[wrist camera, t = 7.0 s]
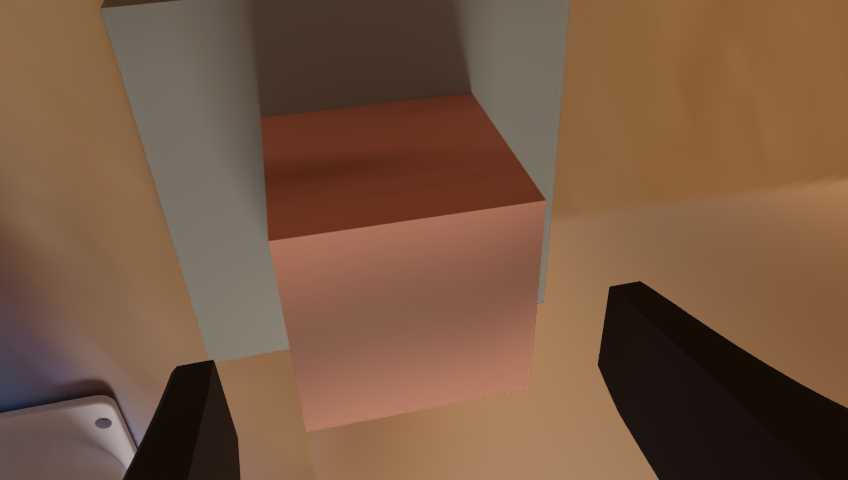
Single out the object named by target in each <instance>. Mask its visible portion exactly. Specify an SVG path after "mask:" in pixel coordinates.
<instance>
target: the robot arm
mask: <svg viewBox="0 0 848 480" xmlns="http://www.w3.org/2000/svg"><path fill="white" fill-rule="evenodd" d="M598 367H599V369H600V371H601V374H602V376H603V378H604V381H605V383H606V385H607V388H608V390H609V392H610V395H611V397H612V399H613V401H614V403H615V406H616V408H617V410H618V412H619V414H620V416H621V417H622V419H623V421H624V423H625V424H626V426H627V428H628V429H629V431H630V433H631V434H632V436H633V438H634V439H635V441H636V443H637V444H638V446H639V448H640V449H641V451H642V452H643V454H644V456H645V457H646V459H647V461H648V462H649V464H650V466H651V467H652V469H653V471H654V472H655V474H656V475H657V477H658V479H659V480H848V408H846V407H844V406H842V405H840V404H838V403H836V402H834V401H832V400H830V399H828V398H826V397H824V396H822V395H820V394H818V393H816V392H815V391H813V390H811V389H809V388H807V387H805V386H804V385H802V384H800V383H798V382H796V381H795V380H793V379H791V378H790V377H788V376H786V375H784V374H783V373H781V372H779V371H777V370H776V369H774V368H772V367H771V366H769V365H767V364H766V363H764V362H762V361H761V360H759V359H757V358H756V357H754V356H753V355H751V354H749V353H748V352H746V351H745V350H743V349H741V348H740V347H738V346H737V345H735V344H733V343H732V342H730V341H729V340H727V339H726V338H724V337H723V336H721V335H720V334H718V333H717V332H715V331H714V330H712V329H710V328H709V327H708V326H706V325H705V324H703V323H702V322H700V321H699V320H697V319H696V318H694V317H693V316H691V315H690V314H688V313H687V312H685V311H684V310H682V309H681V308H680V307H678V306H677V305H675V304H674V303H672V302H671V301H669V300H668V299H666V298H665V297H663V296H662V295H660V294H659V293H657V292H656V291H654V290H653V289H651V288H650V287H648V286H647V285H645V284H644V283H642V282H640V281H638V282H633V283H627V284H622V285H616V286H611V287H610V288H609V294H608V300H607V307H606V314H605V320H604V327H603V333H602V340H601V347H600V353H599V360H598ZM100 418H107V419H106V420H103V419H100ZM0 480H240V464H239V449H238V437H237V434H236V431H235V427H234V424H233V421H232V417H231V414H230V411H229V408H228V404H227V401H226V398H225V395H224V391H223V388H222V385H221V382H220V378H219V375H218V372H217V369H216V365H215V362H214V360H209V361H203V362H198V363H193V364H187V365H182V366H177V367H176V368H175V369H174V370H173V372H172V373H171V375H170V378H169V381H168V383H167V386H166V388H165V391H164V393H163V395H162V398H161V400H160V402H159V405H158V407H157V409H156V412H155V414H154V416H153V418H152V420H151V423H150V425H149V427H148V429H147V431H146V433H145V435H144V438H143V440H142V442H141V444H140V445H139V447H138V449H136V446H135V444H134V442H133V440H132V437H131V435H130V433H129V431H128V429H127V426H126V424H125V422H124V420H123V417H122V415H121V413H120V411H119V408H118V406H117V404H116V402H115V401H114V400H113V399H112V398H110V397H108V396H105V395H95V396H90V397H84V398H79V399H73V400H68V401H63V402H57V403H52V404H46V405H41V406H36V407H30V408H25V409H19V410H14V411H9V412H3V413H0Z"/></svg>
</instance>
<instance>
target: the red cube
mask: <svg viewBox="0 0 848 480" xmlns="http://www.w3.org/2000/svg"><path fill="white" fill-rule="evenodd" d="M261 128H262V144H263V160H264V177H265V193H266V209H267V225H268V241H269V246H270V251H271V256H272V262H273V267H274V272H275V277H276V282H277V287H278V292H279V297H280V302H281V307H282V312H283V317H284V322H285V327H286V332H287V337H288V342H289V347H290V352H291V357H292V362H293V367H294V372H295V377H296V382H297V387H298V392H299V397H300V402H301V407H302V412H303V418H304V423H305V428H306V432H308V431H314V430H319V429H324V428H329V427H334V426H339V425H345V424H350V423H355V422H360V421H365V420H371V419H375V418H381V417H386V416H392V415H397V414H402V413H407V412H412V411H418V410H422V409H428V408H433V407H438V406H443V405H449V404H454V403H459V402H464V401H469V400H474V399H480V398H485V397H490V396H495V395H501V394H506V393H511V392H516V391H521V390H526V389H530V381H531V370H532V358H533V346H534V335H535V324H536V313H537V301H538V290H539V278H540V267H541V255H542V244H543V233H544V221H545V210H546V199H545V198H544V196H543V195H542V193H541V192H540V190H539V189H538V188H537V186H536V185H535V183H534V182H533V180H532V179H531V177H530V176H529V175H528V173H527V172H526V170H525V169H524V167H523V166H522V164H521V163H520V162H519V160H518V159H517V157H516V156H515V154H514V153H513V151H512V150H511V149H510V147H509V146H508V144H507V143H506V141H505V140H504V138H503V137H502V136H501V134H500V133H499V131H498V130H497V128H496V127H495V125H494V124H493V122H492V121H491V120H490V118H489V117H488V115H487V114H486V112H485V111H484V109H483V108H482V107H481V105H480V104H479V102H478V101H477V99H476V98H475V96H474V95H473V94H472V93H465V94H457V95H448V96H440V97H432V98H423V99H415V100H406V101H398V102H390V103H381V104H373V105H364V106H356V107H348V108H339V109H331V110H322V111H314V112H306V113H297V114H289V115H280V116H272V117H264V118H261Z"/></svg>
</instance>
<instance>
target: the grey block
mask: <svg viewBox="0 0 848 480" xmlns="http://www.w3.org/2000/svg"><path fill="white" fill-rule="evenodd" d="M569 5H570V0H105V1H104V3H103V5H102V7H101V11H102V14H103V18H104V21H105V24H106V27H107V31H108V34H109V37H110V40H111V43H112V47H113V50H114V53H115V56H116V60H117V63H118V66H119V69H120V73H121V76H122V79H123V82H124V86H125V89H126V92H127V95H128V99H129V102H130V105H131V108H132V111H133V115H134V118H135V121H136V124H137V128H138V131H139V134H140V137H141V141H142V144H143V147H144V150H145V154H146V157H147V160H148V163H149V166H150V170H151V173H152V176H153V179H154V183H155V186H156V189H157V192H158V196H159V199H160V202H161V205H162V209H163V212H164V215H165V218H166V222H167V225H168V228H169V231H170V234H171V238H172V241H173V244H174V247H175V251H176V254H177V257H178V260H179V264H180V267H181V270H182V273H183V277H184V280H185V283H186V286H187V289H188V293H189V296H190V299H191V302H192V306H193V309H194V312H195V315H196V319H197V322H198V325H199V328H200V332H201V335H202V338H203V341H204V345H205V348H206V351H207V354H208V357H209V360H214V362H220V361H226V360H231V359H237V358H242V357H248V356H253V355H259V354H264V353H270V352H275V351H281V350H286V349H290V347H289V342H288V337H287V332H286V327H285V322H284V317H283V312H282V307H281V302H280V297H279V292H278V287H277V282H276V277H275V272H274V267H273V262H272V256H271V251H270V246H269V241H268V225H267V209H266V193H265V177H264V160H263V144H262V128H261V118H264V117H272V116H280V115H289V114H297V113H306V112H314V111H322V110H331V109H339V108H348V107H356V106H364V105H373V104H381V103H390V102H398V101H406V100H415V99H423V98H432V97H440V96H448V95H457V94H465V93H472V94H473V95H474V96H475V98H476V99H477V101H478V102H479V104H480V105H481V107H482V108H483V109H484V111H485V112H486V114H487V115H488V117H489V118H490V120H491V121H492V122H493V124H494V125H495V127H496V128H497V130H498V131H499V133H500V134H501V136H502V137H503V138H504V140H505V141H506V143H507V144H508V146H509V147H510V149H511V150H512V151H513V153H514V154H515V156H516V157H517V159H518V160H519V162H520V163H521V164H522V166H523V167H524V169H525V170H526V172H527V173H528V175H529V176H530V177H531V179H532V180H533V182H534V183H535V185H536V186H537V188H538V189H539V190H540V192H541V193H542V195H543V196H544V198H545V199H546V210H545V221H544V233H543V244H542V255H541V267H540V278H539V290H538V301H537V304H541V303H544V296H545V285H546V273H547V261H548V249H549V238H550V226H551V215H552V203H553V191H554V180H555V168H556V156H557V145H558V133H559V121H560V110H561V98H562V86H563V75H564V63H565V51H566V40H567V28H568V16H569Z"/></svg>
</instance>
